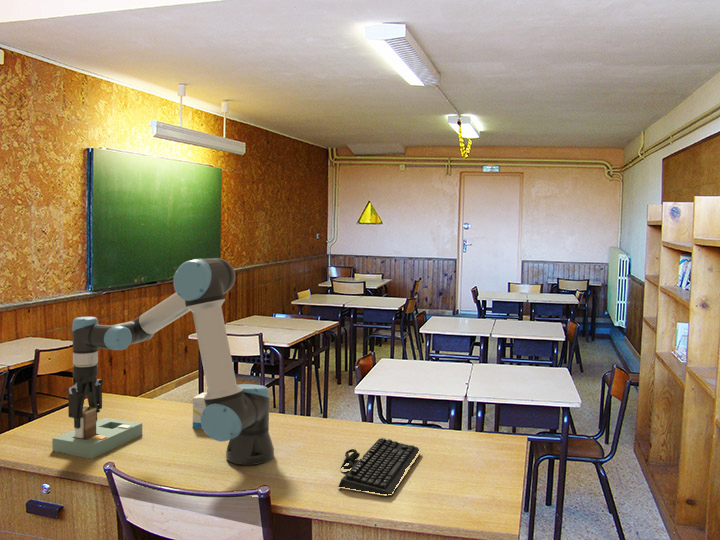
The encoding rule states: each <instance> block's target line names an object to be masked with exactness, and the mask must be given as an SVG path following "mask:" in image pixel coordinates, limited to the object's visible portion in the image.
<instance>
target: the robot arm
mask: <svg viewBox="0 0 720 540" xmlns="http://www.w3.org/2000/svg"><path fill="white" fill-rule="evenodd" d="M235 282H236V272H235V269H234V267H233V266H232V264H231V263H230V262H229V261H227V260H225V259H223V258H219V257H213V258H212V257H211V258H194V259H192V260H187V261H184V262H183V263H181V264H180V265H179V266H178V267H177V270H176V271H175V273H174V276H173V288H174V291H175V292H174V293H173V294H171V295H170V296H168V297H167V298H165V299H163V300H161V302H159V303H158V304H156V305H155V306H153V307H152V308H150V309H148V310H147V311H145V312H144V313H142V314H141V315H140V316H138V317H136V318H134V319H133V320H130V321H125V322H121V323H116V324H111V325H108V324H99V322H98V318H97V317H96V316H78V317H75V318H74V319H73V321H72V328H71V329H72V330H71V333H72V334H71V335H72V364H73V366H72V377H73V378H74V382H73V385H72V386H71V387H70V386H69V387H67V388H66V391H67V395H68V418H72V419H73V427H74V430H75V437H77V438H84V418H82V411H83V407H84V404H85V399H86V398H87V403H88V407H93V408H96V421H98V413H100V412H101V409H103V383H104V380H103V379H100V378H99V379H98V378H97V376H98V375H99V365H98V363H99V349H103V350H111V351H112V350H113V351H125V350H126V349H127V348H128V347H129V346H130V345H133V344H138V343H144V342H146V341H149V340H151V339H152V338H153V337H154V335H155V333H157V332H158V331H160V330H162V329H163V328H165V327H166V326H168V325H170V324H171V323H173V322H175V321H176V320H178V319H179V318H181V317H182V316H185V315H186V314H188V313H189V312H191V313H192V317H193V322H194V323H193V324H194V327H195V332H196V339H197V343H198V349H199V352H200V357H201V363H202V367H203V368H202V369H203V372H204V373H203V374H204V378H205V383H206V387H207V391H206V392H205V393H206V395H205V396H204V401H205V406H206V408H205V409H204V410H203V413H202V414H201V426H202V428H203V429H202V428H201V429H202V430H203V431H204V433H205V435H207V436H208V437H210V438H211V439H212V440H214V441H217V442H227V441H228V445H227V447H226V451H225V458H226V460H227V461H228V462H231V463H233V464H238V465H248V466H249V465H250V466H251V465H259V464H263V463H266V462H268V461H271V460H272V459H273V458H274V455H275V447H274V445H273V441H272V439H271V434H270V431H269V430H270V427H269V426H270V391H269V390H270V389H269V388H268V387H267V386H265V385H261V384H250V383H247V384H246V383H242V384H237V379H236V373H235V370H234V364H233V363H234V362H233V358H232V354H231V348H230V344H229V340H228V334H227V329H226V323H225V319H224V313H223V308H222V306H223V304H224V303H225V301H226V296H225V294H226V293H228V292H229V291H230V290H232V288H233V287H234V284H235Z"/></svg>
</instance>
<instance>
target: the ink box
mask: <svg viewBox="0 0 720 540" xmlns="http://www.w3.org/2000/svg"><path fill="white" fill-rule="evenodd" d="M206 393H207V392H201V393H199V394H197V395H195V396H194V397H192V429H193V428H194V429H202V430H203V428H202V426H201V414H202V413H203V410H204V409H205V408H206V406H205V401H204V396H205V395H206Z"/></svg>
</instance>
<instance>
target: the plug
mask: <svg viewBox="0 0 720 540" xmlns="http://www.w3.org/2000/svg"><path fill="white" fill-rule="evenodd" d="M82 418H84V438H78V439H84V440H87V439H90V438H92V437H93V436H96V408H93V407H89V406H83V411H82ZM75 438H77V437H75Z"/></svg>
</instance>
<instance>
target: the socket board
mask: <svg viewBox="0 0 720 540" xmlns="http://www.w3.org/2000/svg"><path fill="white" fill-rule="evenodd" d="M142 435H143V423H142V422H136V421H130V420H122V419H117V418H110V417H103V418H101V419H97V421H96V436H93V437H92V438H90V439H87V440H84V439H78V438H75V429H73V430H70V431H68V432H64V433H62V434H60V435H57V436H55V437H53V438H52V437H51V441H52V442H51V447H52V449H51V450H52V452H53V451H55V452H54V453H59V452H62V453H61V454H64V453H66V454H65V455H69V454H71V455H70V456H75V455H76V456H75V457H80V456H81V458H86V459H91V460H93V459H95V458H96V457H99V456H102V455H103V454H105V453H107V452H110V451H111V450H113V449H116V448H117V447H120V446H122V445H123V444H126V443H128V442H131V441H132V440H134V439H136V438H139V437H141V436H142Z"/></svg>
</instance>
